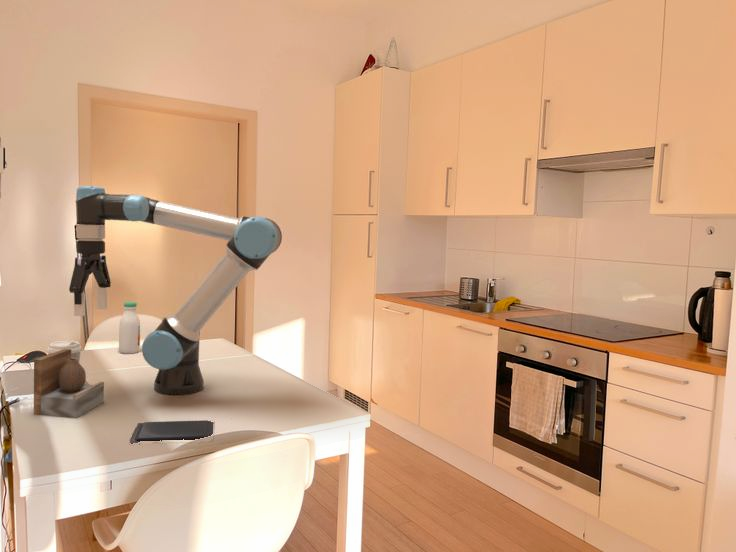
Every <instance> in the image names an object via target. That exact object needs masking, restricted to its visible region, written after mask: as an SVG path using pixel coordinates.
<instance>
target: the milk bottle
mask: <svg viewBox="0 0 736 552" xmlns="http://www.w3.org/2000/svg"><path fill="white" fill-rule="evenodd" d="M137 306H138V304H137V302H134V301H127V302H124V303H123V308H124V311H123V313H122V316H121V318H120V320H119V327H118V352H119V353H120V354H138V353H140V348H141V347H140V345H141V322H140V321H141V320H140V318H139V316H138V314H137Z"/></svg>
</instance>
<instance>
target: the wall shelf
mask: <svg viewBox="0 0 736 552" xmlns="http://www.w3.org/2000/svg"><path fill="white" fill-rule="evenodd" d="M68 359H71V349H63V350H60V351H57V352H54V353H51V354H45V355H43V356H40V357H37V358H34V359H33V415H41V416H50V417H51V416H52V417H62V418H63V417H65V418H72V419H73V418H75V419H76V418H79V417H81V416H83V415H84V414H86V413H88V412H89V411H91V410H93V409H95V408H97V407H98V406H101V405H102V404H104V397H105V396H104V392H105V389H104V388H105V382H104V381H98V382H97V383H95V384H86V383H85V384H84V386H83V387H82V388H81V389H80V390H79V391H77V392H64V391H63V390H62V389H61V388H60V386H59V383H58V375H59V372H60V370H61V368H62V367H63V366H64V365H65V364H66V362H67V360H68Z"/></svg>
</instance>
